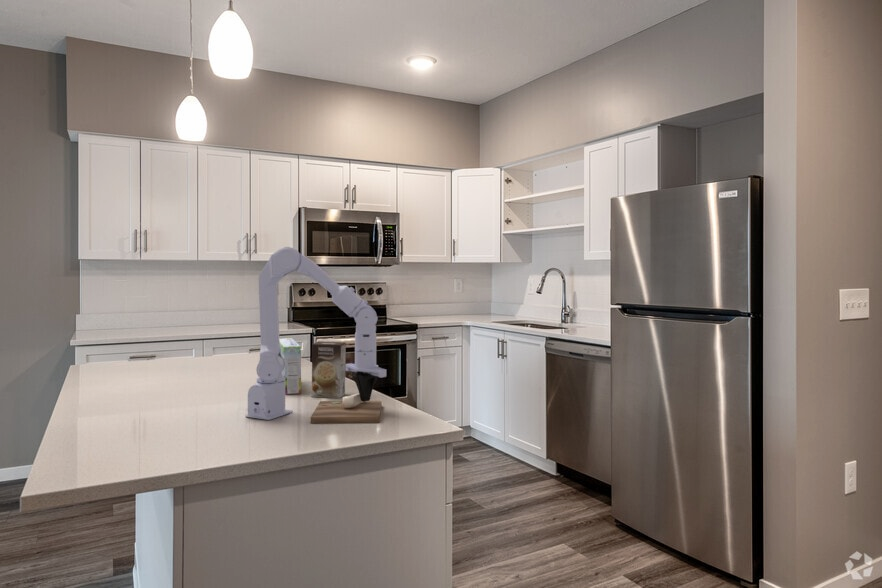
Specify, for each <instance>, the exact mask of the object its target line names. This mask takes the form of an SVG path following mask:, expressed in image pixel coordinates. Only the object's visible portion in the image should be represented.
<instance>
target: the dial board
mask: <svg viewBox="0 0 882 588" xmlns="http://www.w3.org/2000/svg"><path fill="white" fill-rule="evenodd" d="M382 403H383V400H369V401H362V402H360V403H357V404H354V406H353V407H343V400H320V401H319V402H318V404H317V406H316V407H315V409H314V410H313V412H312V414H311V416H310V424H353V423H355V424H356V423H357V424H358V423H359V424H361V423H363V424H364V423H371V424H373V423H375V424H376V423H380V421H381V413H382V406H383V405H382Z"/></svg>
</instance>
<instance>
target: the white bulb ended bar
mask: <svg viewBox="0 0 882 588" xmlns="http://www.w3.org/2000/svg"><path fill="white" fill-rule="evenodd" d="M342 401H343V407H353V406H354V404H357V403H360V402H362V401H361V399H360V395H359V392H357V393H354V394H351V395H345V396H344V395H343V396H342Z"/></svg>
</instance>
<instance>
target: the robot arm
mask: <svg viewBox="0 0 882 588" xmlns="http://www.w3.org/2000/svg"><path fill="white" fill-rule="evenodd" d="M295 271H297V273H298V274H303V275H305V276H306V275H307V276H309V277H311V279H313V280H314V281H315V282H316V283H317V284H319V285H320V286H321V287H323V288H324V289H325V290H326V291H327V292H328V293H330V294H331V301H332V303H333V304H334V305H335V306H336V307H338V308H339V309H340V310H341V311H343V313H345V314H346V315H347V316H348V317H349V318H353V319H354V322H355V323H356V325H355V333H354V363H352V362H351V363H345V372H354V373H356V374H353V375H352V380H353V381H354V383H355V386H356V387H357V390H358V393H359V395H360V399H361V401H371V400H370V399H371V397H372V393H373V390H374V387H375V384H376V382H377V380H378V379H379V378H381V379H382V378H386V377H387V369H385V368H382V367H379V365H378V364H377V333H376V332H377V326H376V325H377V322H378V319H379V318H378V315H377V312H376V310H375V309H374V308H373V307H372V305H369V301H367V299H365V300H364V299H363V298H361V297H360V296H359V295H358V294H357V293H355V288H354V287H352V286H350V287H349V286H348V285H340V284H338V283H337V282H336V281H335V280H334V279H333V278H331V276H329V274H327V273H326V271H324V269H322V268H321V266H319V265H318V264H317V263H315V261H313V260H312V259H310V258H308V257H307V256H305V255H304V254H302V253H300V251H298V250H297V249H295V248H293V247H291V246H283V247H281V248H279V249H278V250H277V251H276V250H275V252H274V253H272V254H271V255H270V257H269V259H268V261H267V262H266V264H265V265H264V267H263V269H262V270H261V271H260V273H259V275H258V296H259V297H258V301H259V302H258V303H259V304H258V305H259V326H260V349H259V360H258V363H257V365H256V369H255V370H256V375H257V378H256V382H255V384H253V385H251V386H250V387H249V389H248V391H247V414H245V415H244V416H245V417H246V418H252V419H253V418H254V419H260V420H266V421H267V420H268V421H270V420H274V419H276V418H279V417H282V416H286V415H288V414H291V413H293V410H292V409H286V395H285V377H283V375H282V374H281V373H282V371H283V370H284V367H285V361H284V359H283V357H282V355H281V348H280V341H279V339H280V319H279V295H278V294H279V290H278V285H279V283H280V282H281V281H283V279H284V278H285V277H286V275H289V274H291V273H293V272H295Z"/></svg>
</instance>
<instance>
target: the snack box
mask: <svg viewBox="0 0 882 588" xmlns="http://www.w3.org/2000/svg"><path fill="white" fill-rule="evenodd" d="M279 341H280V348H281V355H282V357H283V359H284V361H285V367H284V370H283V371H282V373H281V374H282V375H283V377H285V396H287V395H289V396H290V395H300V394H302V364H301V363H302V358H301V357H302V353H301V352H302V351H301V349H302V348H301V345H300V344H298V342H297V341H296V340H294V339H293V337H290V338H289V337H286V338H279Z"/></svg>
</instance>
